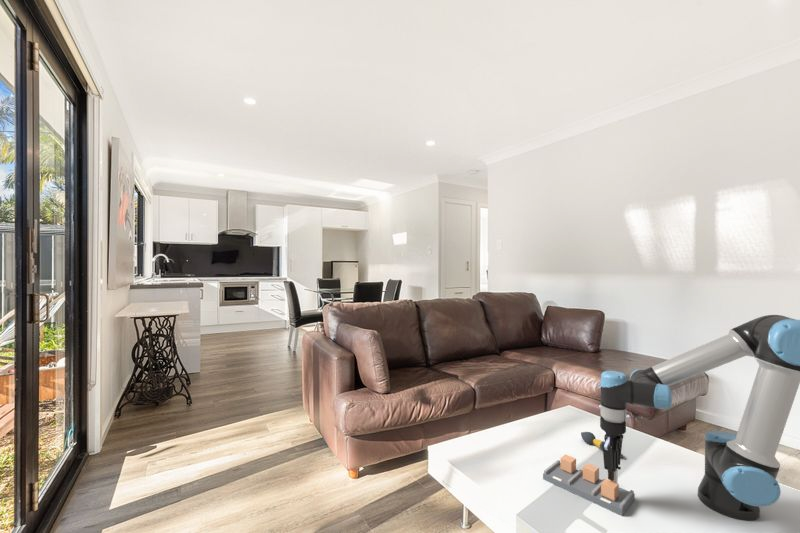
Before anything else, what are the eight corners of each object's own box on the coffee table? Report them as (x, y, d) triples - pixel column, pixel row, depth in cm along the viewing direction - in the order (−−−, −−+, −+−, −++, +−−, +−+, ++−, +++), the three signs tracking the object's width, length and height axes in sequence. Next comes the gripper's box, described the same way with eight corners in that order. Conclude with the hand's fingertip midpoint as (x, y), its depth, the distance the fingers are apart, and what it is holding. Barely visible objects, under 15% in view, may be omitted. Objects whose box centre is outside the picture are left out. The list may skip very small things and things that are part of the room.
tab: (618, 495, 121) (618, 483, 121) (614, 500, 119) (614, 488, 118) (605, 490, 124) (605, 478, 124) (601, 495, 122) (601, 483, 121)
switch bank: (634, 499, 123) (634, 490, 123) (622, 516, 115) (622, 506, 115) (558, 467, 142) (558, 459, 142) (543, 479, 134) (543, 471, 134)
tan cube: (576, 469, 137) (576, 458, 137) (571, 473, 134) (571, 462, 134) (565, 464, 140) (565, 454, 140) (560, 468, 137) (560, 458, 137)
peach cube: (598, 478, 131) (599, 467, 131) (594, 483, 128) (594, 471, 128) (587, 473, 134) (587, 463, 134) (582, 478, 131) (582, 467, 131)
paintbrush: (628, 457, 150) (628, 445, 149) (621, 461, 147) (621, 448, 147) (582, 437, 166) (582, 426, 166) (575, 440, 164) (575, 429, 164)
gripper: (608, 409, 130) (607, 475, 130) (593, 420, 122) (592, 490, 122) (632, 416, 124) (631, 485, 125) (618, 428, 116) (617, 501, 116)
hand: (612, 487), depth 123 cm, fingers closed
